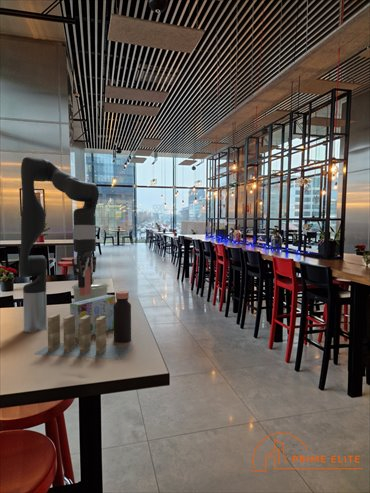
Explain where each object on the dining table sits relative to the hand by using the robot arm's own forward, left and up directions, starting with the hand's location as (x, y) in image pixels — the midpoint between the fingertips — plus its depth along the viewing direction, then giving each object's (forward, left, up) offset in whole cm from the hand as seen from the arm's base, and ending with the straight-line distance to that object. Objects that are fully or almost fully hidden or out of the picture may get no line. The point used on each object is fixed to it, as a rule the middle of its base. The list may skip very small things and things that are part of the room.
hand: (85, 286), depth 111 cm
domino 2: (-4, -5, -23) cm, 24 cm away
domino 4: (-1, 0, -23) cm, 23 cm away
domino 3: (0, 0, -3) cm, 3 cm away
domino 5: (+2, +5, -23) cm, 24 cm away
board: (-1, 0, -24) cm, 24 cm away
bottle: (-7, +14, -25) cm, 29 cm away
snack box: (-23, +5, -25) cm, 34 cm away
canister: (-50, +6, -25) cm, 56 cm away
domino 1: (-7, -11, -23) cm, 27 cm away
